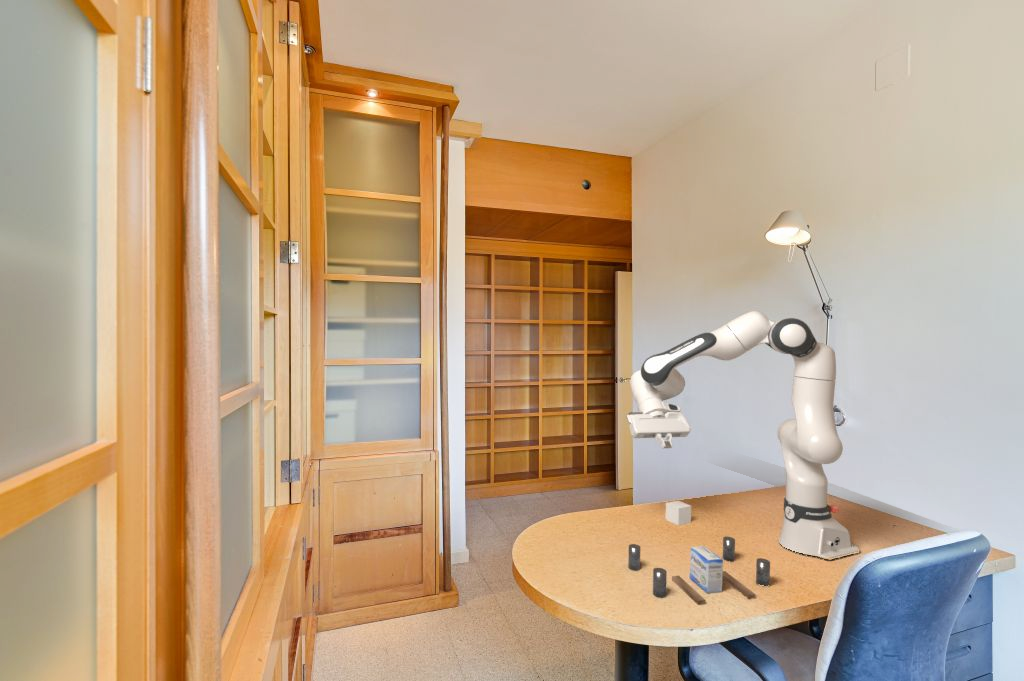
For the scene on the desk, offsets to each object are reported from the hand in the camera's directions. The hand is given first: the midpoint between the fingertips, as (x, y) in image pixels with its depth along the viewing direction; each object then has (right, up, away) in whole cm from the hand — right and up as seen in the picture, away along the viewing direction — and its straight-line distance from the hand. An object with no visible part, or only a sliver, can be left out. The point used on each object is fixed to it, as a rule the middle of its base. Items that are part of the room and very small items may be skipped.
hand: (667, 447), depth 155 cm
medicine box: (+1, -30, -28) cm, 41 cm away
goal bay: (+2, -30, -30) cm, 42 cm away
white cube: (+9, -30, +15) cm, 34 cm away
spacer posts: (0, -30, -23) cm, 38 cm away
